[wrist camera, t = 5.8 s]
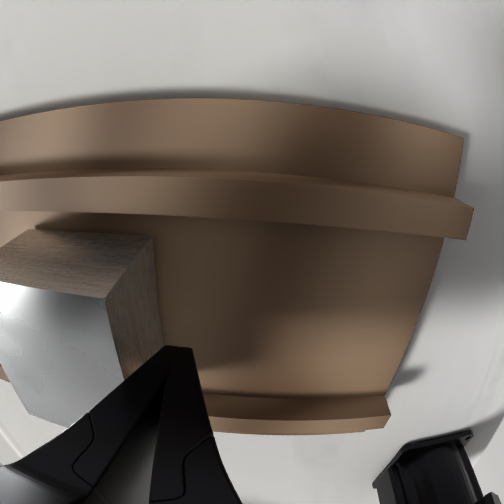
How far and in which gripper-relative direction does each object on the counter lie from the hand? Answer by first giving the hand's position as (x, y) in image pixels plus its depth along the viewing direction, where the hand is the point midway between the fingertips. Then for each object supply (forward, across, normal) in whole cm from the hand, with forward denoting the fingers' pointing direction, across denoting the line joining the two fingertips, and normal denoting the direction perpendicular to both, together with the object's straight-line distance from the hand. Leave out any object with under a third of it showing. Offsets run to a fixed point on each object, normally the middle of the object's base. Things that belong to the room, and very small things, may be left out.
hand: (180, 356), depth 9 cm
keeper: (+2, +4, 0) cm, 4 cm away
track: (+3, +3, 0) cm, 5 cm away
